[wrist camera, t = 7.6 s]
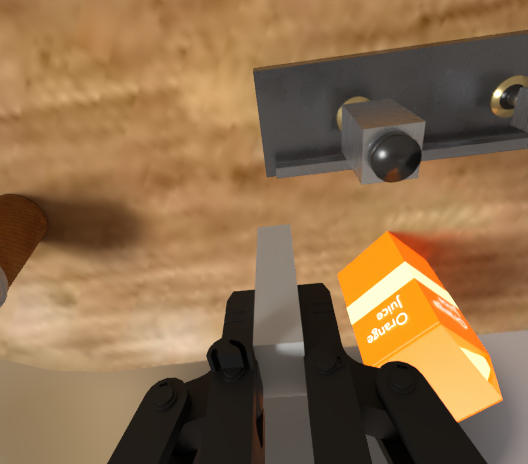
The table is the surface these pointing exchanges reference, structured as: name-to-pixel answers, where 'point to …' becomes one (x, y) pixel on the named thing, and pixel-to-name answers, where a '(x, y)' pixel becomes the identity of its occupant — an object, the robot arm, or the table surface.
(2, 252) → the disposable coffee cup
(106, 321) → the table surface
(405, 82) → the plate
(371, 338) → the orange juice
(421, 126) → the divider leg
